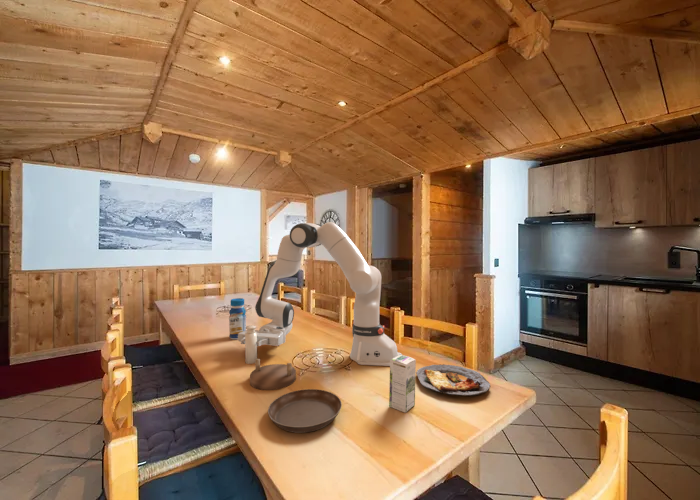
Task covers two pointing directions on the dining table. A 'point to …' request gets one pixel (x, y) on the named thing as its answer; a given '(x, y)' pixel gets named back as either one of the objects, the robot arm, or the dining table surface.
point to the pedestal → (272, 376)
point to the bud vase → (250, 345)
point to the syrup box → (402, 383)
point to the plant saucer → (304, 410)
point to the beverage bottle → (237, 318)
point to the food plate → (452, 380)
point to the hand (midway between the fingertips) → (249, 343)
